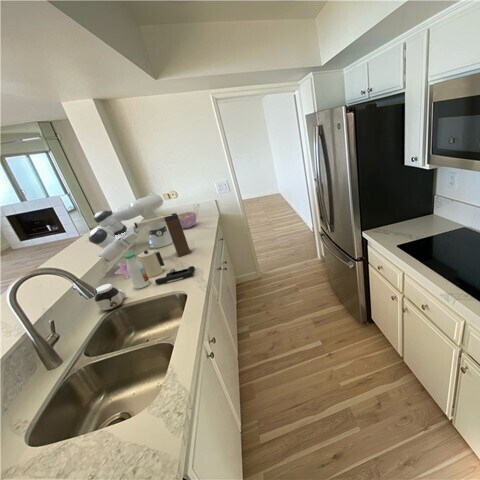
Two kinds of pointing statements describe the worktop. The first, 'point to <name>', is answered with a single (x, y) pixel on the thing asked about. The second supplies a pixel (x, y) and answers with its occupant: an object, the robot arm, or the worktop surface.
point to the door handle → (176, 275)
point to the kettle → (151, 262)
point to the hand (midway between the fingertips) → (141, 225)
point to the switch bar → (150, 221)
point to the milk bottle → (136, 272)
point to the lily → (123, 269)
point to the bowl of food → (187, 219)
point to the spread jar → (109, 297)
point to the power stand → (177, 234)
